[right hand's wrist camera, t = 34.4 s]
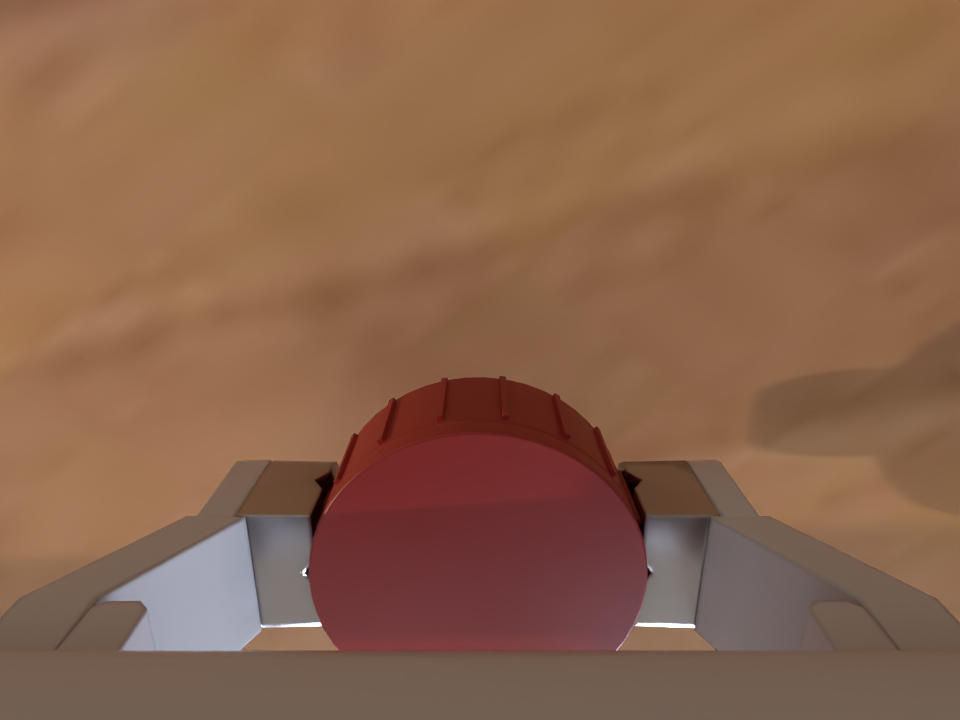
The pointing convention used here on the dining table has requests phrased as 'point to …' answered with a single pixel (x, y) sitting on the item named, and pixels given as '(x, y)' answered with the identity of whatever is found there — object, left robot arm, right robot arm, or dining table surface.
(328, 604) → the cap
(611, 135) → the dining table surface
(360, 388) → the dining table surface
